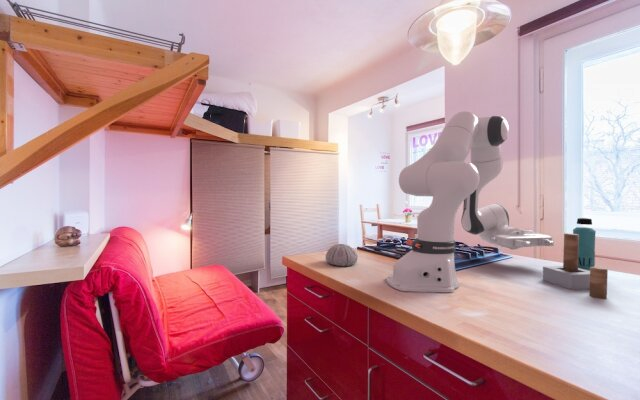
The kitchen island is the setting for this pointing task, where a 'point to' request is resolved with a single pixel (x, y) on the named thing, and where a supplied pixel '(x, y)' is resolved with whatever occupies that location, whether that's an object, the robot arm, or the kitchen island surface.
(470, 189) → the robot arm
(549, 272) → the socket block
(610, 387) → the kitchen island surface
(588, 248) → the beverage bottle
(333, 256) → the sea urchin shell
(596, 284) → the short dowel
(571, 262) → the long dowel
